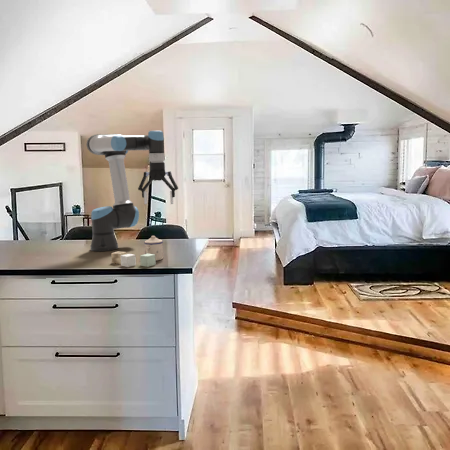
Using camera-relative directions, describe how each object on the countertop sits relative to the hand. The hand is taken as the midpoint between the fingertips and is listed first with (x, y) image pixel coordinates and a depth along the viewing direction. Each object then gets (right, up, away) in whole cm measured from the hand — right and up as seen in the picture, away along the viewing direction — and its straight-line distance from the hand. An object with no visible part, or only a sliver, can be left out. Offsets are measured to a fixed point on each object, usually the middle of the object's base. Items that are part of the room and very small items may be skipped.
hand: (158, 204), depth 262 cm
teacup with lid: (-2, -28, -7) cm, 29 cm away
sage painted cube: (-3, -30, -19) cm, 35 cm away
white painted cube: (-12, -30, -18) cm, 37 cm away
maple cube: (-18, -29, -11) cm, 36 cm away
